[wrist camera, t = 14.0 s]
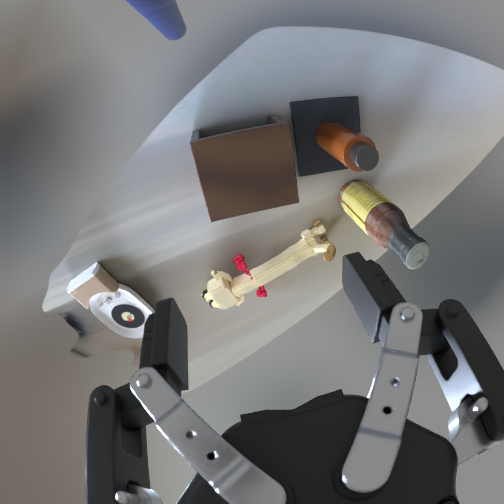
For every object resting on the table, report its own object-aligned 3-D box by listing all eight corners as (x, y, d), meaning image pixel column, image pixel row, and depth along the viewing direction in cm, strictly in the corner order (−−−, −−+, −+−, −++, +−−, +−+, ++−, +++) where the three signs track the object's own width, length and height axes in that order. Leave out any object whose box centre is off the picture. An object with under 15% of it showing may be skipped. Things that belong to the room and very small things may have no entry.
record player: (97, 268, 45) (167, 332, 56) (102, 257, 47) (168, 320, 59) (62, 294, 47) (129, 349, 58) (66, 283, 49) (130, 338, 60)
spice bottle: (313, 123, 39) (349, 141, 30) (342, 119, 39) (384, 137, 30) (316, 152, 42) (350, 179, 32) (344, 148, 42) (384, 174, 32)
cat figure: (309, 205, 49) (188, 277, 52) (331, 229, 42) (190, 310, 44) (327, 246, 55) (217, 309, 57) (348, 272, 48) (224, 342, 50)
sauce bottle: (366, 208, 50) (428, 276, 34) (335, 211, 49) (392, 284, 33) (370, 175, 46) (442, 235, 30) (338, 176, 45) (405, 240, 29)
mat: (289, 102, 38) (290, 102, 37) (356, 96, 38) (358, 96, 37) (299, 175, 44) (300, 176, 44) (360, 165, 45) (361, 166, 44)
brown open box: (192, 131, 38) (189, 143, 32) (274, 114, 38) (289, 122, 32) (209, 198, 44) (211, 222, 38) (284, 181, 45) (299, 202, 38)
